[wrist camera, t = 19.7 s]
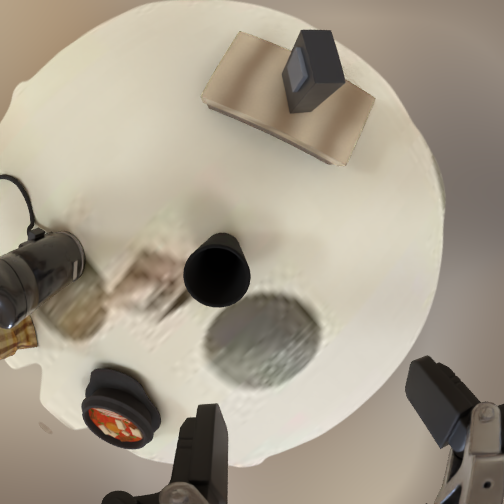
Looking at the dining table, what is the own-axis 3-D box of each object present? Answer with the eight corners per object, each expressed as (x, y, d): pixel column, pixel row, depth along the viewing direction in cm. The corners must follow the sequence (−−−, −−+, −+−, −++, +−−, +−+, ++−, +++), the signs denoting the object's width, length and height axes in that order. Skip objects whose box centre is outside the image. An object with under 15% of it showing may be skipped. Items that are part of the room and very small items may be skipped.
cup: (190, 236, 42) (172, 258, 31) (237, 218, 42) (236, 234, 30) (209, 280, 44) (199, 315, 32) (254, 264, 44) (259, 295, 32)
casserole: (79, 353, 47) (62, 376, 39) (160, 374, 49) (150, 403, 41) (98, 424, 54) (88, 446, 45) (165, 442, 55) (159, 467, 47)
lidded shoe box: (207, 111, 37) (200, 96, 30) (239, 54, 35) (239, 30, 27) (327, 167, 40) (346, 165, 32) (353, 109, 38) (375, 98, 30)
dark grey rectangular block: (286, 114, 31) (309, 83, 19) (277, 74, 29) (295, 29, 18) (311, 112, 31) (346, 83, 19) (302, 72, 29) (331, 30, 18)
